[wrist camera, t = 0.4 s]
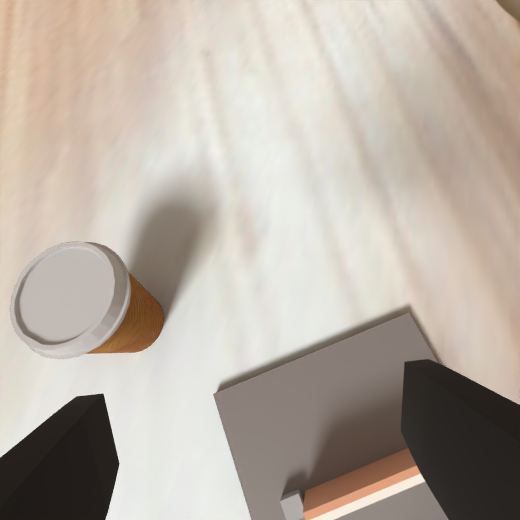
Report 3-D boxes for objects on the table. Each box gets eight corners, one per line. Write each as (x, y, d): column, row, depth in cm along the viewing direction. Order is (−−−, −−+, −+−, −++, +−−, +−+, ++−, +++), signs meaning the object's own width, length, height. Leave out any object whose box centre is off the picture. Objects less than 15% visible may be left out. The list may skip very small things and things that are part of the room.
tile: (422, 457, 29) (447, 472, 23) (310, 504, 29) (308, 529, 23) (416, 444, 29) (439, 456, 24) (305, 490, 29) (302, 513, 24)
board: (561, 589, 26) (586, 608, 23) (308, 695, 26) (308, 725, 23) (406, 314, 34) (413, 308, 32) (215, 394, 34) (208, 393, 32)
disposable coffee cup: (184, 281, 39) (132, 236, 28) (170, 372, 36) (104, 361, 24) (105, 279, 40) (25, 235, 29) (84, 365, 37) (-14, 353, 26)
